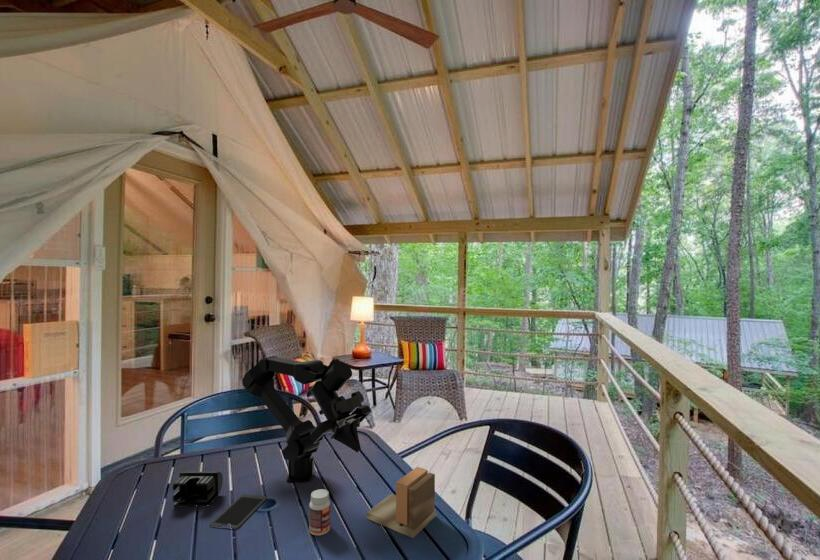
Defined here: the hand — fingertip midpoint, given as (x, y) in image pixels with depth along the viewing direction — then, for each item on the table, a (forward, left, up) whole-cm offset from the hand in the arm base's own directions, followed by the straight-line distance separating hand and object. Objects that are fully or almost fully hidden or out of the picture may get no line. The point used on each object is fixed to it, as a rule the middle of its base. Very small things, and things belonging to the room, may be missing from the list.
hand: (359, 450), depth 106 cm
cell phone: (-29, -4, -13) cm, 32 cm away
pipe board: (+11, -8, -13) cm, 19 cm away
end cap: (-42, +2, -13) cm, 44 cm away
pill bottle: (-8, -12, -13) cm, 19 cm away
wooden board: (+13, -10, -11) cm, 20 cm away
